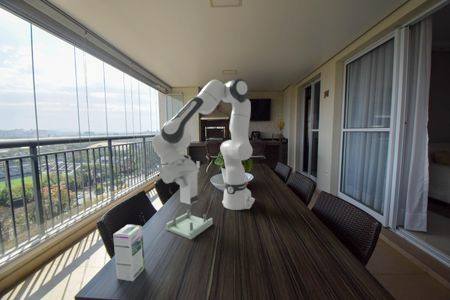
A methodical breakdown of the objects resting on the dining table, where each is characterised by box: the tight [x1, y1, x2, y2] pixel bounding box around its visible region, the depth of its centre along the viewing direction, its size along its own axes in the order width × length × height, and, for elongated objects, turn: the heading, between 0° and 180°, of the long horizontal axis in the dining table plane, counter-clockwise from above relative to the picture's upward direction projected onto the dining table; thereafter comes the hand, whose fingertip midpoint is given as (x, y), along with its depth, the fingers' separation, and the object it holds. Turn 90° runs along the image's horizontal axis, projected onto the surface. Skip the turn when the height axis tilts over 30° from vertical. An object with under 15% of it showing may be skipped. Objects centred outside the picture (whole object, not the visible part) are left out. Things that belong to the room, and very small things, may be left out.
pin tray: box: [165, 209, 214, 240], centre depth 86 cm, size 15×15×5 cm
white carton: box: [179, 170, 199, 205], centre depth 84 cm, size 5×6×14 cm
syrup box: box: [113, 224, 146, 282], centre depth 57 cm, size 6×6×14 cm
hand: (189, 185), depth 84 cm, fingers closed on white carton, 5 cm apart
